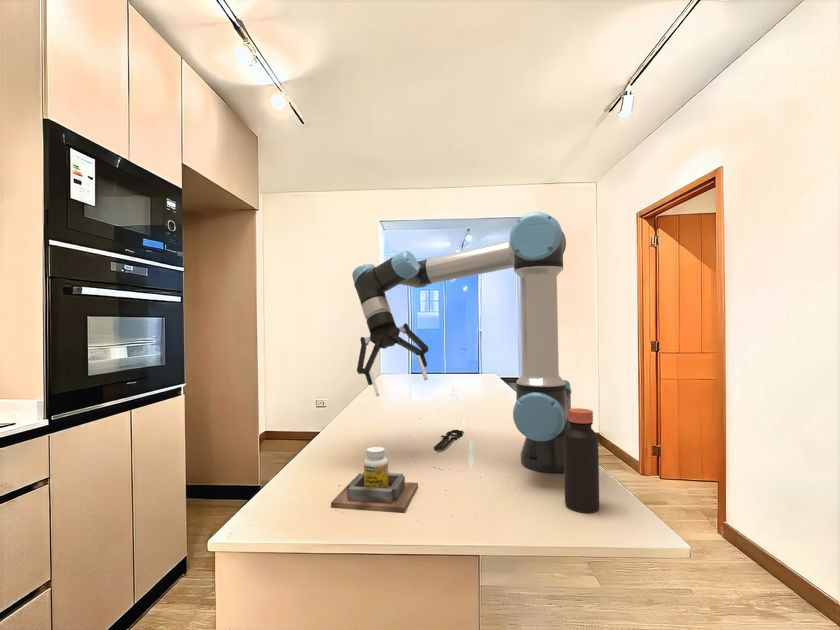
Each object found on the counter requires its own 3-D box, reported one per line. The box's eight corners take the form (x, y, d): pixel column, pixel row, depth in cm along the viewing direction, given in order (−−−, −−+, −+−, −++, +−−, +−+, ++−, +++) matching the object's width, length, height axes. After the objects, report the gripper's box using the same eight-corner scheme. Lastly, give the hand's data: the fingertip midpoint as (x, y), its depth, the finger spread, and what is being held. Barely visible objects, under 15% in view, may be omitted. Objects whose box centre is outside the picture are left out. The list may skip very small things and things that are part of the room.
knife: (441, 455, 130) (441, 450, 130) (421, 452, 132) (421, 447, 132) (468, 434, 153) (468, 430, 153) (451, 432, 155) (451, 428, 155)
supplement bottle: (390, 487, 100) (389, 445, 101) (386, 497, 95) (386, 452, 95) (366, 487, 101) (366, 445, 101) (361, 496, 95) (361, 452, 96)
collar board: (418, 487, 103) (417, 472, 103) (404, 512, 90) (404, 495, 90) (353, 483, 106) (353, 468, 106) (331, 507, 93) (330, 490, 93)
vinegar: (578, 515, 87) (576, 414, 88) (558, 502, 94) (556, 408, 94) (606, 510, 89) (604, 412, 89) (585, 498, 96) (583, 406, 96)
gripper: (420, 308, 129) (444, 375, 122) (337, 333, 125) (358, 404, 118) (420, 298, 122) (447, 369, 115) (333, 325, 118) (355, 399, 111)
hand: (402, 387), depth 117 cm, fingers open, 13 cm apart
